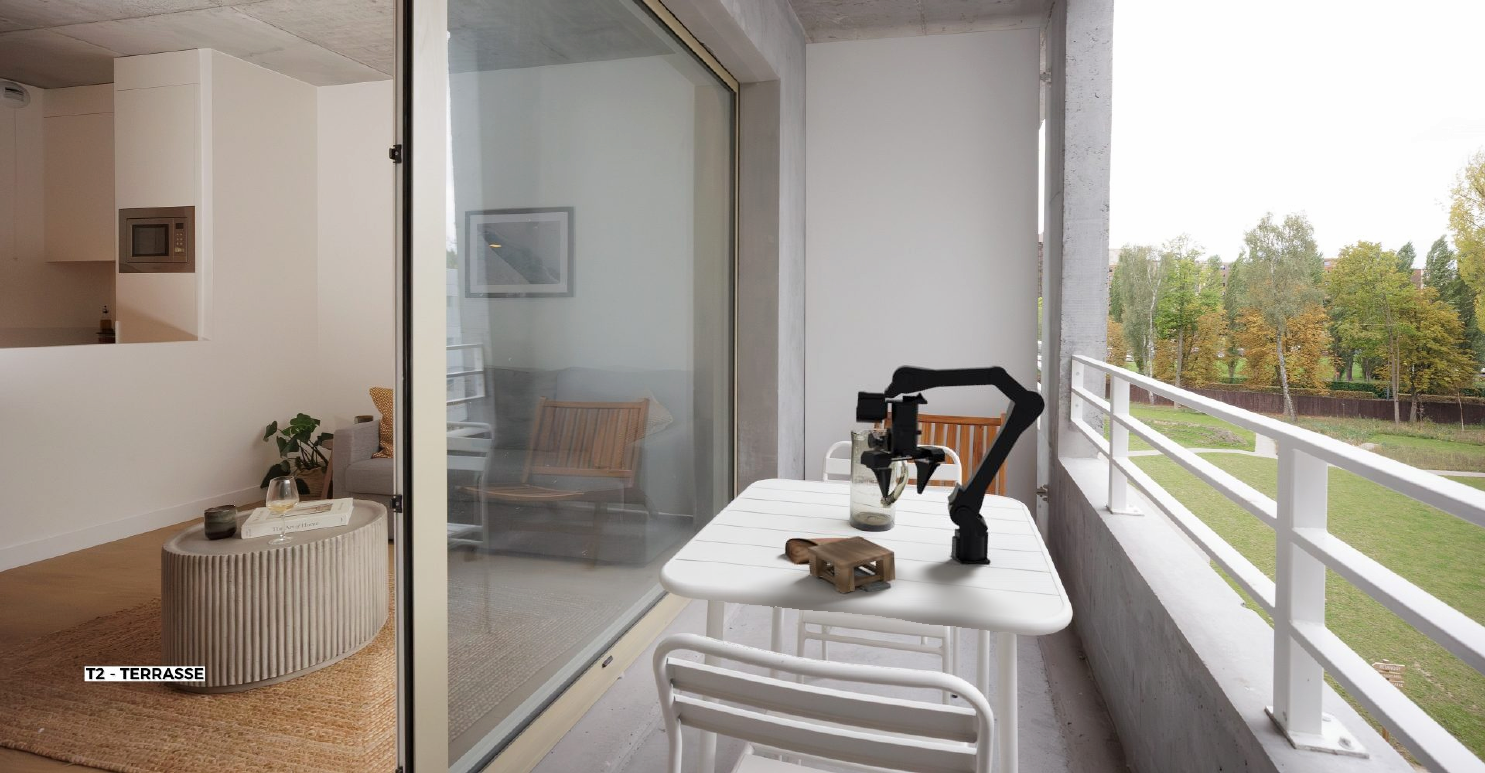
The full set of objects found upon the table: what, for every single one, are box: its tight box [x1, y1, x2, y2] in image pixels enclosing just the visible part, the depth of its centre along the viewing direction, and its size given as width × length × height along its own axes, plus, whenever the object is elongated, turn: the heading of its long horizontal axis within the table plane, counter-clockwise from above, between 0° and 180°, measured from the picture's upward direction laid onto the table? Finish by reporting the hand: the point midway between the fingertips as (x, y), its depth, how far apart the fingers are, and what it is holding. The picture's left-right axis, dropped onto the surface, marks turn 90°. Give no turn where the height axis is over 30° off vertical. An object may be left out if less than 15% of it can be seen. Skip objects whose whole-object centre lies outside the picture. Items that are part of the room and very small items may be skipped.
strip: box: [832, 567, 891, 592], centre depth 153 cm, size 5×14×1 cm, turn 26°
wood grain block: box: [808, 535, 896, 594], centre depth 152 cm, size 6×12×12 cm
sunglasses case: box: [784, 536, 864, 565], centre depth 167 cm, size 18×7×7 cm, turn 98°
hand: (902, 495), depth 168 cm, fingers open, 9 cm apart
